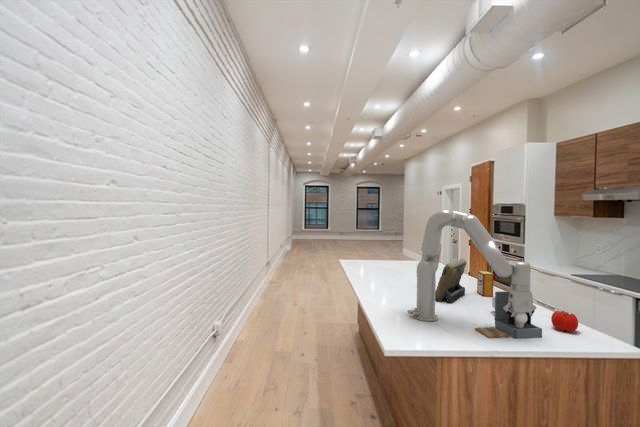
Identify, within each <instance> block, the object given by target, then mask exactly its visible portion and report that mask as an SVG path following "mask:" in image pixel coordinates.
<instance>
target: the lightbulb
mask: <svg viewBox="0 0 640 427" xmlns="http://www.w3.org/2000/svg"><path fill="white" fill-rule="evenodd" d="M513 317H515V325H516V328H515V329H523V326H524V324H525V323H526V322H527V319H528V317H527V314H526V313H515V315H514V316H513Z"/></svg>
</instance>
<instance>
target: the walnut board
mask: <svg viewBox="0 0 640 427" xmlns="http://www.w3.org/2000/svg"><path fill="white" fill-rule="evenodd" d="M474 330H475V331H476V332H478V333H479V334H481V335H483V336H484V337H486V338H488V339H500V338H501V339H503V338H509V335H507V334H506V333H504V332H502V331H500V330H498V329H496V328H495V326H488V327H486V326H485V327H475V328H474Z"/></svg>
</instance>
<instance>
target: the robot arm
mask: <svg viewBox="0 0 640 427" xmlns="http://www.w3.org/2000/svg"><path fill="white" fill-rule="evenodd" d="M447 226H448V227H449V226H450V227H452V228H457V229H461V230H462V229H463V231H464V232H465V233H466V235H467V236H468V238H470V240H471V241H472V243H473V244H474V246H475V247H476V248H477V250H478V251H479V252H480V254H481V255H482V256H483V258H484V259H485V261H486V262H487V264H488V266H490V268H491V269H492V271H493V272H494V273H495V274H496V275H497V276H498V277H500V278H509V277H510V276H511V283H510V284H511V285H509V288H510V290H509V291H510V293H509V299H508V304H507V305H506V306H504V307H503V308H504V310H505V312H506V313H507V315H508V323H509V324H511V325H514V324H515V317H513V316H514V315H515V313H526V314H527V317H528V319H527V322H526V323H527V324H529V325H531V324H532V317H533V314H534V313H535V312H536V309H537V306H536V305H534V298H533V293H532V291H531V264H530V263H529V262H527V261H522V260H521V261H519V260H517V261H514V260H509V259H507V258H506V257H505V255H504V254H503V252H502V251H501V250H500V249H499V247H498V245H497V243H496V241H495V239H493V237H492V235H491V234H490V233H489V232H488V230H487V229H486V228H485V226H484V225H483V224H482V222H481V221H480V220H479V218H478V217H477V216H476V215H474V214H471V213H464V212H460V211H456V210H451V209H441V210H439V211H436V212H435V213H432V215H431V216H430V217H429V218H428V219H427V222H426V226H425V230H424V234H423V240H422V243H421V252H422V254H421V260H420V261H419V262H418V263H417V264H416V307H414V309H408V310H407V314H408V315H412V316H413V318H415V319H417V320H419V321H423V322H435V321H436V322H437V321H438V320H439V316H438V315H437V314H436V300H435V291H436V289H437V285H436V283H437V282H436V275H437V274H436V272H437V270H438V268H439V264H440V258H441V252H442V245H441V237H442V232H443V229H444V228H445V227H447ZM508 309H509V310H508ZM512 311H513V312H512ZM511 312H512V313H511Z"/></svg>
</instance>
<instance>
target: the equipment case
mask: <svg viewBox="0 0 640 427" xmlns="http://www.w3.org/2000/svg"><path fill="white" fill-rule="evenodd" d="M509 293H510V290H506V291H503V290H502V291H495V292H494V296H495V309H494V311H495V316H494V328H496V329H498V330H500V331H502V332H504V333H505V334H507V335H509V336H510V338H514V339H533V338H542V337H543V328H542V327H540V326H537V325H535V324H532V323H531V325H529V324H527V323H525V324H524V326H523V329H516V325H515V324H514V325H511V324H509V323H508V315H507V313H506V312H505V310H504V308H503V307H504V306H506V305H507V304H508V299H509ZM508 310H509V309H508ZM512 312H513V311H512ZM512 312H511V313H512Z"/></svg>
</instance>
